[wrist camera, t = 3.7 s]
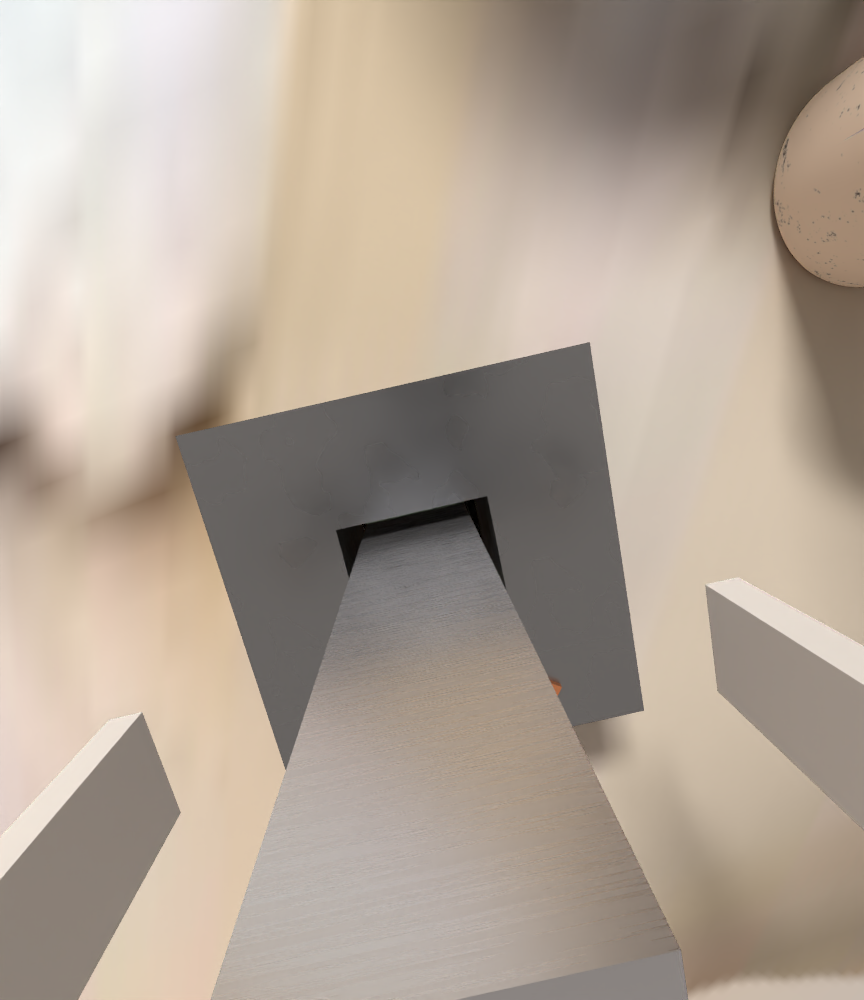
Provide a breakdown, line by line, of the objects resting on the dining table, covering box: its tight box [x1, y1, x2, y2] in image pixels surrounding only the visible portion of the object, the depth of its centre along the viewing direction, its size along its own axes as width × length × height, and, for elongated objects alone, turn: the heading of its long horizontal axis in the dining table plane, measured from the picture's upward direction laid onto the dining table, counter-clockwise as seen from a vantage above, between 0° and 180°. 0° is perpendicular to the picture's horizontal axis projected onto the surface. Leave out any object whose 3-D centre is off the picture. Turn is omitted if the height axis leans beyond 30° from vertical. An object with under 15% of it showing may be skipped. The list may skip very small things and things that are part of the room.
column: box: [211, 501, 688, 1000], centre depth 14 cm, size 5×4×20 cm
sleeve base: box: [176, 342, 644, 769], centre depth 20 cm, size 14×14×8 cm
